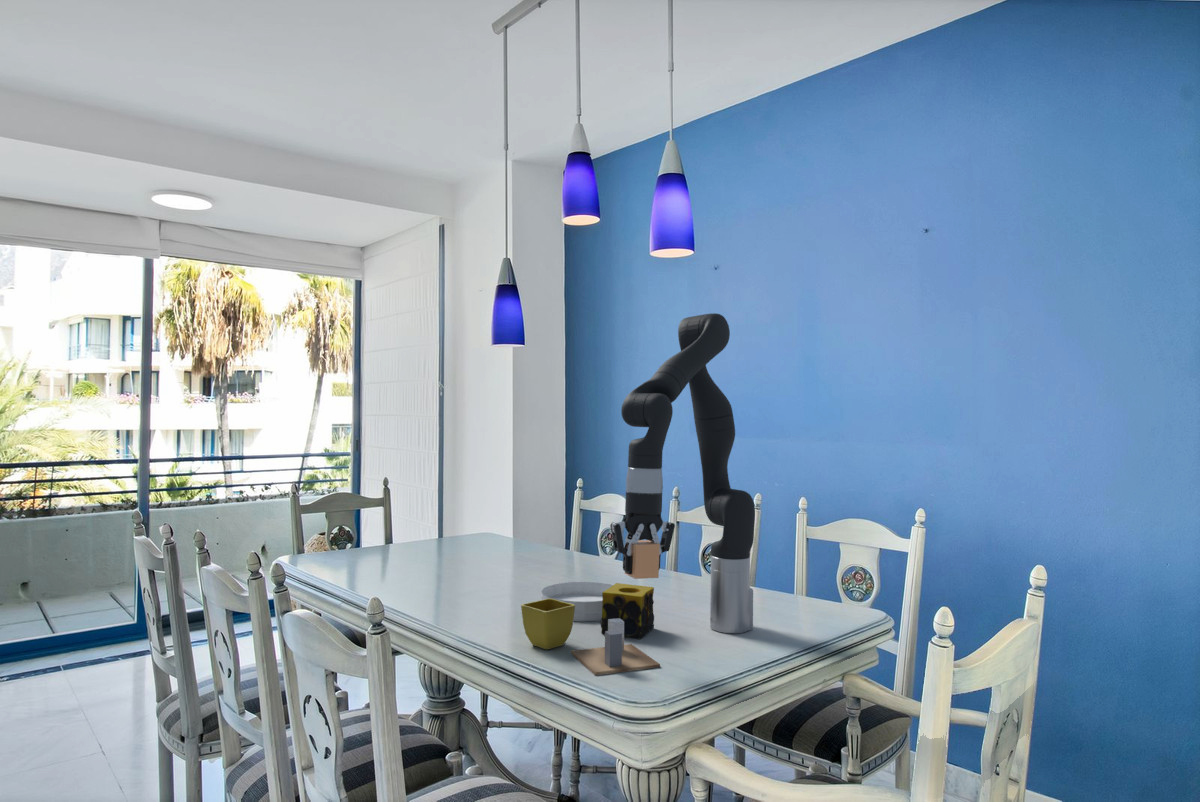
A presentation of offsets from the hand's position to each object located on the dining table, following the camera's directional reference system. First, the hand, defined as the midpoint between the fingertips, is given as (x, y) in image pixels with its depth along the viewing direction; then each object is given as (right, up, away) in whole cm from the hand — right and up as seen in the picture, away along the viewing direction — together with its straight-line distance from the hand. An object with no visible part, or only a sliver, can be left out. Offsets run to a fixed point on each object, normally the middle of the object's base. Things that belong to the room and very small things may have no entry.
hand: (641, 572), depth 153 cm
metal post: (-5, -18, +6) cm, 19 cm away
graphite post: (-6, -18, -3) cm, 19 cm away
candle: (-2, -19, +22) cm, 29 cm away
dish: (-13, -20, +41) cm, 47 cm away
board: (-6, -18, +1) cm, 19 cm away
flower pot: (-20, -19, +10) cm, 29 cm away
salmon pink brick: (0, -1, 0) cm, 1 cm away
